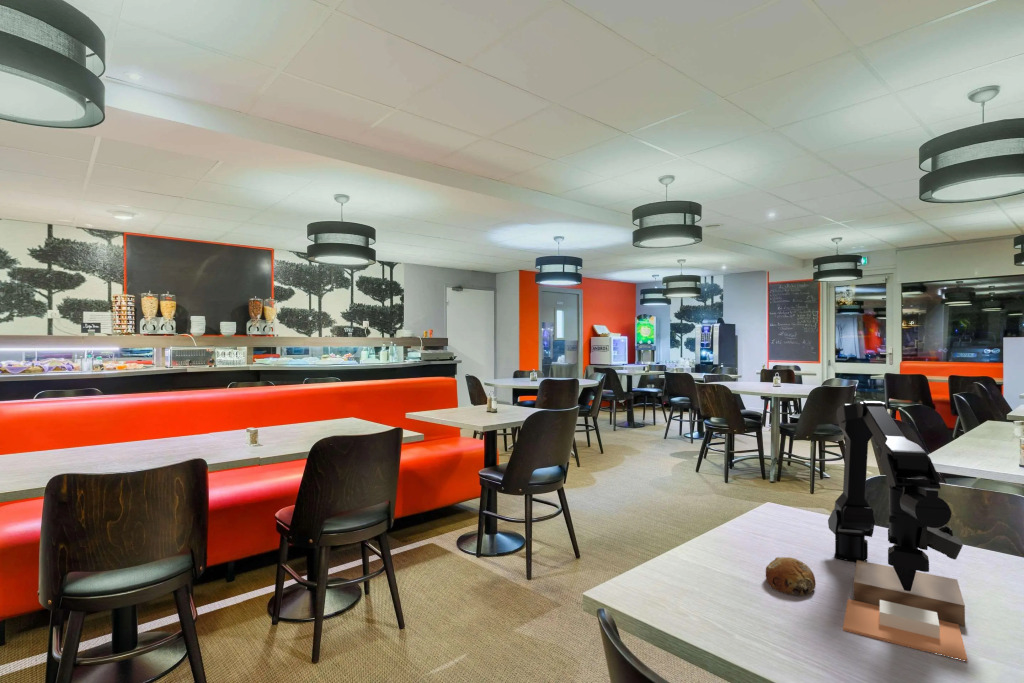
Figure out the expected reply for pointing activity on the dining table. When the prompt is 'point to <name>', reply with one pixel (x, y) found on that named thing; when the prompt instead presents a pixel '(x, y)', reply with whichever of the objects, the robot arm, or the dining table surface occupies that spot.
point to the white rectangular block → (909, 619)
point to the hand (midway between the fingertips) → (907, 590)
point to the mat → (902, 631)
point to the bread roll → (790, 576)
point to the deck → (924, 594)
